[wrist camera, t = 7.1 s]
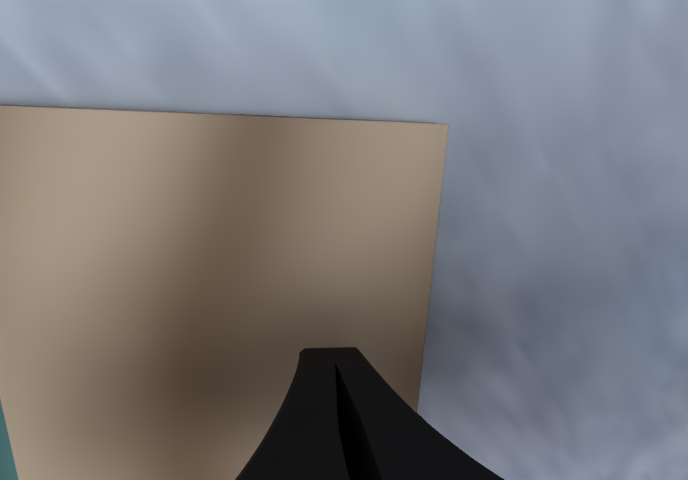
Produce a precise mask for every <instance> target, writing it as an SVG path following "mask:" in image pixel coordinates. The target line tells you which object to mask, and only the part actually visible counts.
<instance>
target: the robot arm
mask: <svg viewBox="0 0 688 480" xmlns="http://www.w3.org/2000/svg"><path fill="white" fill-rule="evenodd" d="M235 480H504V479H502V478H501V477H499V476H498V475H496V474H495V473H493V472H492V471H490V470H489V469H487V468H486V467H484V466H483V465H481V464H480V463H478V462H477V461H475V460H474V459H473V458H471V457H470V456H468V455H467V454H466V453H464V452H463V451H462V450H461V449H459V448H458V447H457V446H455V445H454V444H453V443H451V442H450V441H449V440H448V439H446V438H445V437H444V436H442V435H441V434H440V433H439V432H438V431H436V430H435V429H434V428H433V427H432V426H430V425H429V424H428V423H427V422H426V421H425V420H424V419H423V418H422V417H421V416H419V415H418V414H417V413H416V412H415V411H414V410H413V409H412V408H411V407H410V406H409V405H408V404H407V403H406V402H405V401H404V400H403V399H402V398H401V397H400V396H399V395H398V394H397V393H396V392H395V391H394V390H393V389H392V388H391V387H390V385H389V384H388V383H387V382H386V381H385V380H384V379H383V378H382V377H381V375H380V374H379V373H378V372H377V371H376V370H375V369H374V367H373V366H372V365H371V364H370V363H369V361H368V360H367V359H366V358H365V357H364V355H363V354H362V353H361V352H360V351H359V350H358V349H357V348H356V347H335V348H304V349H303V350H302V351H301V352H300V353H299V361H298V365H297V369H296V372H295V375H294V378H293V381H292V383H291V385H290V388H289V390H288V392H287V395H286V397H285V399H284V401H283V403H282V405H281V407H280V409H279V411H278V413H277V415H276V417H275V419H274V420H273V422H272V424H271V426H270V428H269V430H268V431H267V433H266V435H265V436H264V438H263V440H262V441H261V443H260V444H259V446H258V448H257V449H256V451H255V452H254V454H253V455H252V457H251V458H250V460H249V461H248V462H247V464H246V465H245V467H244V468H243V470H242V471H241V472H240V474H239V475H238V476H237V477H236V479H235Z"/></svg>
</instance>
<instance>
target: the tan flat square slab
mask: <svg viewBox="0 0 688 480" xmlns="http://www.w3.org/2000/svg"><path fill="white" fill-rule="evenodd" d="M448 127H449V125H448V124H439V123H427V122H403V121H380V120H356V119H333V118H309V117H285V116H262V115H238V114H214V113H191V112H167V111H143V110H120V109H96V108H73V107H49V106H25V105H2V104H0V480H235V479H236V477H237V476H238V475H239V474H240V472H241V471H242V470H243V468H244V467H245V465H246V464H247V462H248V461H249V460H250V458H251V457H252V455H253V454H254V452H255V451H256V449H257V448H258V446H259V444H260V443H261V441H262V440H263V438H264V436H265V435H266V433H267V431H268V430H269V428H270V426H271V424H272V422H273V420H274V419H275V417H276V415H277V413H278V411H279V409H280V407H281V405H282V403H283V401H284V399H285V397H286V395H287V392H288V390H289V388H290V385H291V383H292V381H293V378H294V375H295V372H296V369H297V365H298V361H299V353H300V352H301V351H302V350H303V349H304V348H335V347H356V348H357V349H358V350H359V351H360V352H361V353H362V354H363V355H364V357H365V358H366V359H367V360H368V361H369V363H370V364H371V365H372V366H373V367H374V369H375V370H376V371H377V372H378V373H379V374H380V375H381V377H382V378H383V379H384V380H385V381H386V382H387V383H388V384H389V385H390V387H391V388H392V389H393V390H394V391H395V392H396V393H397V394H398V395H399V396H400V397H401V398H402V399H403V400H404V401H405V402H406V403H407V404H408V405H409V406H410V407H411V408H412V409H413V410H414V411H415V412H416V413H417V407H418V398H419V389H420V380H421V371H422V362H423V353H424V344H425V335H426V326H427V317H428V308H429V299H430V290H431V281H432V272H433V262H434V253H435V244H436V235H437V226H438V217H439V208H440V199H441V190H442V181H443V172H444V163H445V154H446V145H447V136H448Z"/></svg>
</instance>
